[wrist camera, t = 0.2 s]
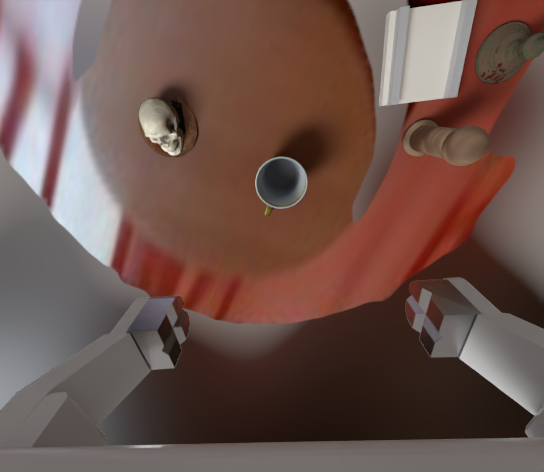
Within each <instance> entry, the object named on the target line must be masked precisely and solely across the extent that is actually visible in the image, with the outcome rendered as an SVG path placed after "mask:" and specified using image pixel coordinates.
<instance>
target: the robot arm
mask: <svg viewBox="0 0 544 472" xmlns="http://www.w3.org/2000/svg"><path fill="white" fill-rule="evenodd" d="M409 291H410V293H411V294H412V295H411V296H410V297H409V298H408V299H407V300H406V306H405V309H406V316H407V318H408V321H409V323H410V325H411V326H412V328H414V329H415V330H417V331H418V332H420V333H421V334H420V338H419V339H420V341H421V343H422V344H423V346H424V347H425V349H426V351H427V352H428V354H429V355H430V357H460V359H461V360H462V361H464V362H465V363H466V364H468V365H469V366H470V367H471V368H473V369H474V370H476V371H477V372H478V373H479V374H481V375H482V376H483V377H485V378H486V379H487V380H489V381H490V382H491V383H493V384H494V385H495V386H496V387H498V388H499V389H500V390H502V391H503V392H504V393H506V394H507V395H508V396H510V397H511V398H512V399H514V400H515V401H516V402H518V403H519V404H520V405H521V406H523V407H524V408H525V409H527V410H528V411H529V412H531V413H532V414H533V415H535V416H534V418H533V419H532V420H531V421H530V423H529V424H528V425H527V426H526V430H525V433H526V435H527V436H528V437H529V438H497V439H496V438H495V439H494V438H493V439H443V440H442V439H439V440H390V441H389V440H388V441H387V440H385V441H335V442H333V441H331V442H278V443H227V444H176V445H175V444H174V445H128V446H127V445H123V446H105V444H106V442H107V439H106V436H105V435H104V434H103V432H101V430H100V429H99V428H98V427H97V426H98V425H99V424H100V423H101V422H102V421H103V420H104V419H105V418H106V417H107V416H108V415H109V414H110V413H111V412H112V411H113V410H114V409H115V407H117V406H118V405H119V403H120V402H121V401H122V400H123V399H124V398H125V397H126V396H127V395H128V394H129V393H130V392H131V391H132V390H133V389H134V388H135V387H136V386H137V385H138V384H139V383H140V382H141V381H142V379H143V378H144V377H145V376H146V375H147V374H148V373H149V372H150V370H154V369H167V368H175V366H176V364H177V361H178V359H179V356H180V354H181V351H182V349H181V346H180V344H181V343H182V342H184V340H186V338H187V336H188V333H189V327H190V320H189V316H188V313H187V312H186V311H184V310H183V309H182V307H183V305H184V302H183V300H182V297H180V296H161V297H142V298H138V299H136V300H135V301H134V302H133V304H132V305H131V306H130V308H129V309H128V310H127V312H126V313H125V314H124V315H123V317H122V318H121V320H120V321H119V322H118V323H117V325H116V326H115V327H114V329H113V330H112V331H111V333H110V334H105V335H103V336H102V337H100V338H99V339H97V340H96V341H95V342H93V343H91V344H90V345H88V346H87V347H85V348H84V349H82V350H81V351H79V352H77V353H76V354H75V355H73V356H71V357H70V358H68V359H67V360H66V361H64V362H62V363H61V364H59V365H58V366H56V367H55V368H53V369H52V370H50V371H49V372H47V373H46V374H44V375H43V376H41V377H40V378H38V379H37V380H35V381H33V382H32V383H30V384H29V385H27V386H26V387H24V388H23V389H21V390H20V391H18V392H17V393H16V394H15V395H14V396H13V397H12V398H11V399H10V401H9V402H8V403H7V404H6V405H5V406H4V407H3V408H2V409H1V410H0V472H544V329H542V328H540V327H538V326H536V325H533V324H531V323H529V322H526V321H524V320H522V319H520V318H518V317H515V316H513V315H511V314H509V313H501V312H500V311H499V310H498V309H497V308H496V307H495V306H494V305H492V304H491V303H490V302H489V301H488V300H487V299H486V298H485V297H484V296H483V295H482V294H480V293H479V292H478V291H477V290H476V289H475V288H474V287H473V286H472V285H470V284H469V283H468V282H467V281H466V280H465V279H463V278H460V277H458V278H445V279H435V280H421V281H412V283H411V284H410V287H409Z"/></svg>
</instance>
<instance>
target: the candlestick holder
mask: <svg viewBox="0 0 544 472" xmlns="http://www.w3.org/2000/svg"><path fill="white" fill-rule="evenodd" d="M543 51H544V33H543V32H538V33H535V34H533V35H532V33H531V31H530V29H529V27H528V26H527V25H525V24H524V23H521V22H509V23H506V24H503V25H501V26H500V27H498V28H497V29H495V30H494V31H493V32H492V33H491V34H490V35H488V36H487V38H486V39H485V40H484V42H483V43H482V45H481V47H480V49H479V51H478V53H477V57H476V62H475V69H476V74H477V75H478V77H479V79H480V80H482V81H483V82H485V83H488V84H497V83H500V82H503V81H505V80H507V79H509V78H510V77H512V76H513V75H514V74H516V73H517V72H518V71H519V70H520V68H521V67H522V66H523V65H524V63H525V62H526V60H531V59H534V58H536V57H538V56H539V55H540V54H541V53H542V52H543Z"/></svg>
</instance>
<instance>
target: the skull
mask: <svg viewBox="0 0 544 472" xmlns="http://www.w3.org/2000/svg"><path fill="white" fill-rule="evenodd" d="M175 97H176V96H175ZM177 99H178V100H179V101H180V103H179V102H178V101H176V100H175V99H174V100H175V102H173V101H172V100H171V103H173V104H170V103H169V102H167V101H165V100H163V99H161V98H156V97H154V98H149V99H147V100H146V101H144V102H143V103H142V105H141V107H140V111H139V127H140V131H141V134H142V136H143V138H144V140H145V141H146V143H147V144H148V145H149V146H150V147H151V148H152V149H153V150H154V151H156V152H157V153H159V154H161V155H163V156H167V157H179V156H182V155H184V154H186V153H187V152H188V151H190V149H191V148H192V147H193V145H194V143H195V141H196V137H197V125H196V120H195V117H194V115H193V113H192V111H191V110H190V108H189V107H188V106H187V105H186V104H185V103H184V102H183V101H182V100H181V99H179V98H178V97H177ZM178 105H179V107H178Z"/></svg>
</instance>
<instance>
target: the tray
mask: <svg viewBox="0 0 544 472" xmlns="http://www.w3.org/2000/svg"><path fill="white" fill-rule="evenodd" d="M476 4H477V0H462V1H457V2H450V3H443V4H436V5H429V6H423V7H416V8H410V6H403V7H400V8H399V9H397V10H395V11H390V12H389V13H388V14H387V15H386V28H385V39H384V51H383V63H382V75H381V88H380V99H379V106H385V105H394V104H401V103H409V102H418V101H426V100H434V99H442V98H452V97H457V94H458V89H459V85H460V80H461V75H462V71H463V66H464V61H465V56H466V52H467V47H468V42H469V38H470V33H471V28H472V23H473V19H474V14H475V9H476Z"/></svg>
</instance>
